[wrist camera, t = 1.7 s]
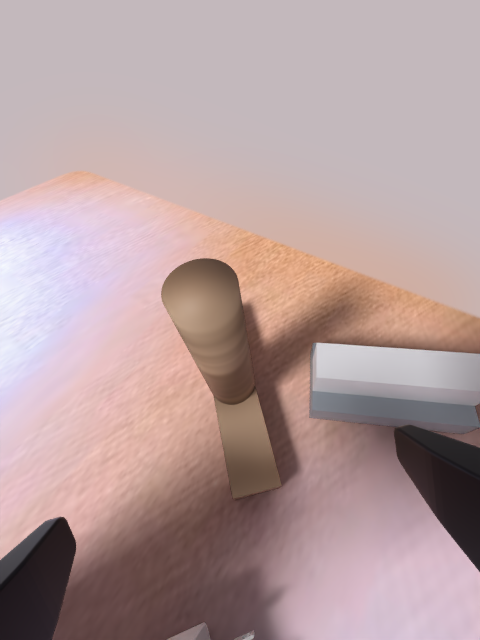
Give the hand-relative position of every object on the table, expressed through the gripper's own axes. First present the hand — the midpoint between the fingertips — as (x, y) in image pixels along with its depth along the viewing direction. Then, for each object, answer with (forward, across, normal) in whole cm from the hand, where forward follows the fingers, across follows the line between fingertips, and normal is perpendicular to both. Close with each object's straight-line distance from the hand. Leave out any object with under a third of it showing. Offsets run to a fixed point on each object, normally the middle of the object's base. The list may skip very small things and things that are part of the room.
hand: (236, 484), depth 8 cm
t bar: (+15, 0, +4) cm, 15 cm away
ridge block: (+13, -10, +6) cm, 17 cm away
